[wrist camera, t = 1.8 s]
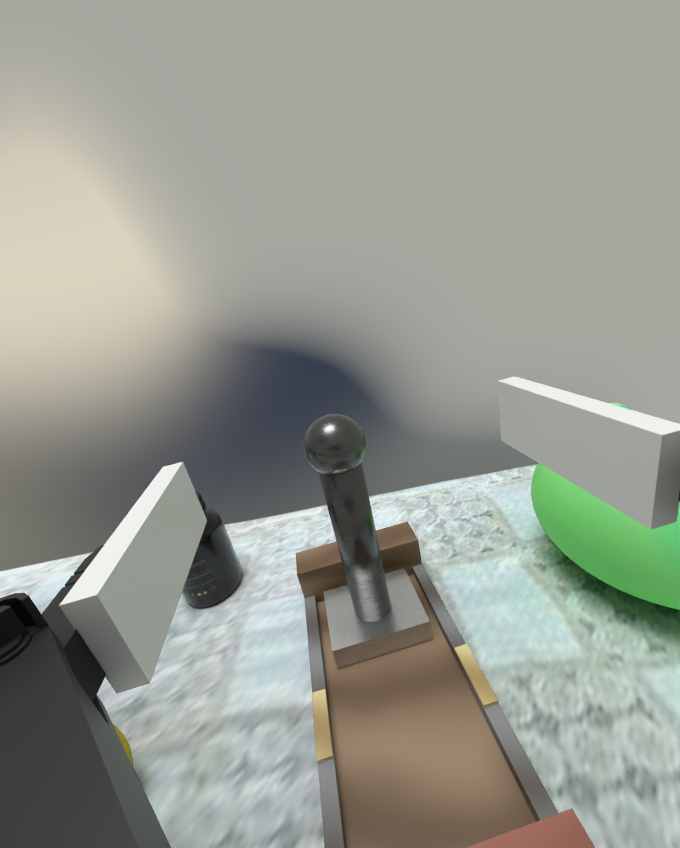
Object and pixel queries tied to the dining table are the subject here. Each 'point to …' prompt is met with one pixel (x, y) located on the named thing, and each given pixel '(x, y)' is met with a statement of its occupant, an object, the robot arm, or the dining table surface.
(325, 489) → the press handle
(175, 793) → the dining table surface
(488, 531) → the dining table surface
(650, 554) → the toy bird
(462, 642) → the press base
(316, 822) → the dining table surface
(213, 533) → the supplement bottle
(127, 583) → the robot arm
